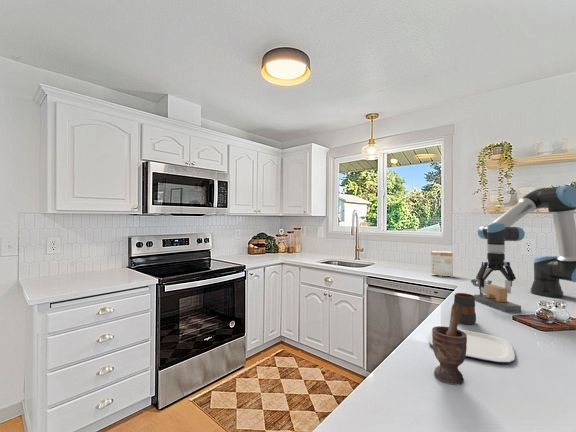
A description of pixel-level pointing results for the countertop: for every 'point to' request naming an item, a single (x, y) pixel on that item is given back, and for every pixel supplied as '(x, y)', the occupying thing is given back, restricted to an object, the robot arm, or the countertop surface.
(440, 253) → the coffeecake box
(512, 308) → the rail
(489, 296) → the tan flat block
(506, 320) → the countertop surface
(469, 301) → the mug
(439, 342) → the mortar and pestle
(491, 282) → the mechanical component
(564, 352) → the countertop surface
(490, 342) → the plate
